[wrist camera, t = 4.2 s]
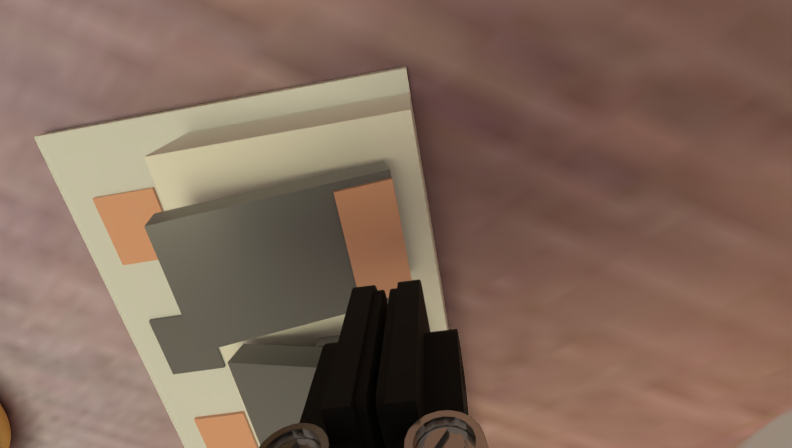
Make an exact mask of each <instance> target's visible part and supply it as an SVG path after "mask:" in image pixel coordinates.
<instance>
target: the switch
mask: <svg viewBox="0 0 792 448" xmlns="http://www.w3.org/2000/svg"><path fill="white" fill-rule="evenodd" d="M144 227H145V230H146V232H147V234H148V237H149V239H150V241H151V244H152V246H153V248H154V251H155V253H156V255H157V258H158V260H159V263H160V265H161V267H162V270H163V272H164V274H165V277H166V279H167V281H168V284H169V286H170V288H171V291H172V293H173V295H174V298H175V300H176V303H177V305H178V307H179V310H180V312H181V314H182V317H183V319H184V321H185V324H186V326H187V328H188V331H189V333H190V335H191V338H192V340H193V343H194V345H195V347H196V350H197V352H198V353H200V352H204V351H208V350H211V349H215V348H219V347H223V346H226V345H230V344H234V343H238V342H242V341H245V340H249V339H253V338H257V337H260V336H264V335H268V334H272V333H276V332H279V331H283V330H287V329H291V328H294V327H298V326H302V325H306V324H309V323H313V322H317V321H321V320H325V319H328V318H332V317H336V316H340V315H343V314H346V310H347V306H348V303H349V299H350V295H351V292H352V289H353V288H355V287H363V286H371V285H375V286H376V288H377V290H384V291H385V293H386V297H387V302H388V300H389V293H390V289H394V288H397V284H398V282H403V281H411V280H412V279H411V273H410V268H409V263H408V258H407V252H406V247H405V242H404V237H403V232H402V226H401V221H400V216H399V211H398V205H397V200H396V195H395V190H394V185H393V179H392V177H391V172H390V168H389V167H388V166H387V164H386V163H385V161H379V162H375V163H371V164H366V165H362V166H358V167H353V168H349V169H345V170H340V171H336V172H332V173H327V174H323V175H319V176H314V177H310V178H306V179H301V180H297V181H293V182H288V183H284V184H280V185H275V186H271V187H267V188H262V189H258V190H254V191H249V192H245V193H241V194H236V195H232V196H228V197H223V198H219V199H215V200H210V201H206V202H202V203H197V204H193V205H189V206H184V207H180V208H176V209H171V210H167V211H163V212H158V213H154V214H153V216H152V217H151V218H150V219H149V221H148V222H147V223H146V225H145V226H144Z"/></svg>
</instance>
